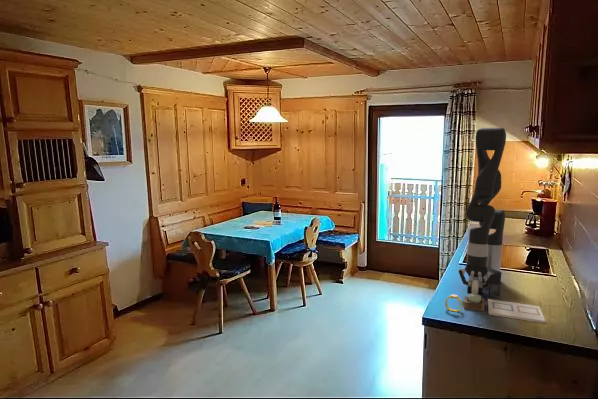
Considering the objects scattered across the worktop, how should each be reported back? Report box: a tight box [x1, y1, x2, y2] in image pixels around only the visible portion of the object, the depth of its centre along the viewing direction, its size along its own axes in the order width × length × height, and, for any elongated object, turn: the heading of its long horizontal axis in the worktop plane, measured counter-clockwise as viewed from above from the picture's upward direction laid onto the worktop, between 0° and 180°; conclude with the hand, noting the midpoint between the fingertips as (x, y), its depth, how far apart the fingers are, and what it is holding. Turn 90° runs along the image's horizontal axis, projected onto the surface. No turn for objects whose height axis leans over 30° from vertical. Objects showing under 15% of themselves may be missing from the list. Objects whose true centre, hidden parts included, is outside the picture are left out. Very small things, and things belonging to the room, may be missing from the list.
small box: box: [482, 267, 503, 299], centre depth 177 cm, size 11×6×10 cm, turn 21°
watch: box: [444, 293, 464, 313], centre depth 155 cm, size 6×3×6 cm, turn 60°
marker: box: [471, 277, 479, 294], centre depth 170 cm, size 3×3×9 cm
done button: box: [467, 294, 482, 303], centre depth 160 cm, size 4×4×3 cm
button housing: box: [463, 295, 486, 312], centre depth 160 cm, size 7×7×2 cm
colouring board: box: [487, 298, 547, 324], centre depth 157 cm, size 16×18×1 cm
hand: (474, 295), depth 170 cm, fingers closed on marker, 3 cm apart
